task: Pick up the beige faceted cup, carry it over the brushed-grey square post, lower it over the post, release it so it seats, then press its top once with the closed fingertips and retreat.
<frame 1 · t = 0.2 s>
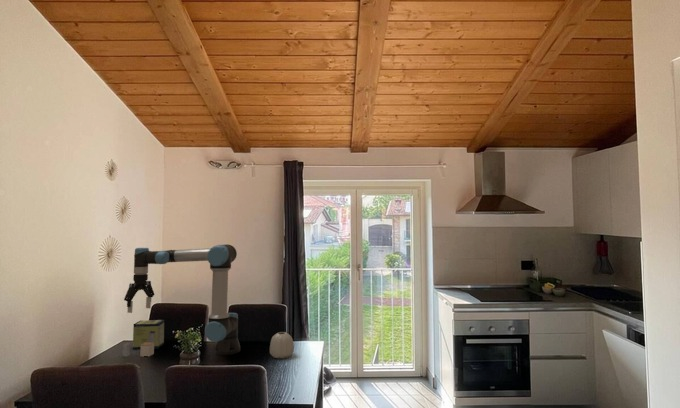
hand: (139, 310, 227), 26 cm above the table, fingers open, 13 cm apart
beige faceted cup: (147, 355, 228), on the table
protein box: (148, 347, 245), on the table
post: (126, 356, 226), on the table
vase: (281, 357, 224), on the table
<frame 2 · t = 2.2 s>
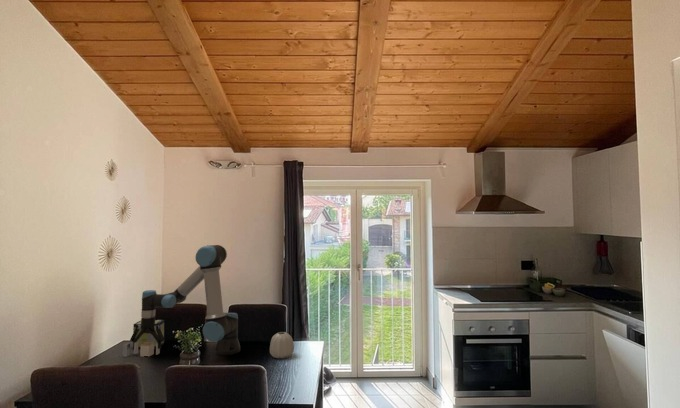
hand: (146, 353, 228), 1 cm above the table, fingers open, 13 cm apart
nothing on the table moved.
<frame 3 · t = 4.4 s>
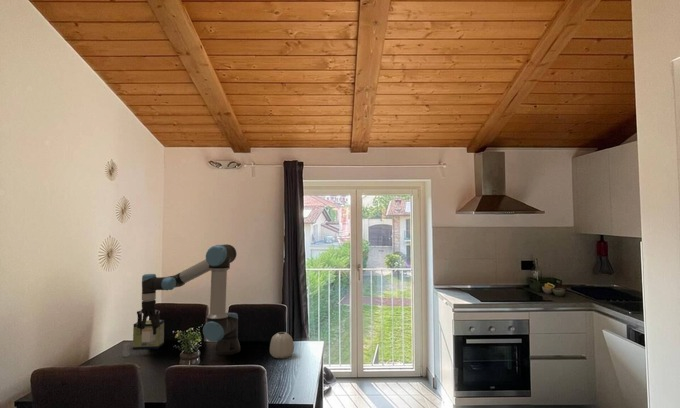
hand: (148, 340, 228), 9 cm above the table, fingers closed on beige faceted cup, 5 cm apart
beige faceted cup: (148, 340, 228), point 8 cm above the table, touching gripper
everything else where it was.
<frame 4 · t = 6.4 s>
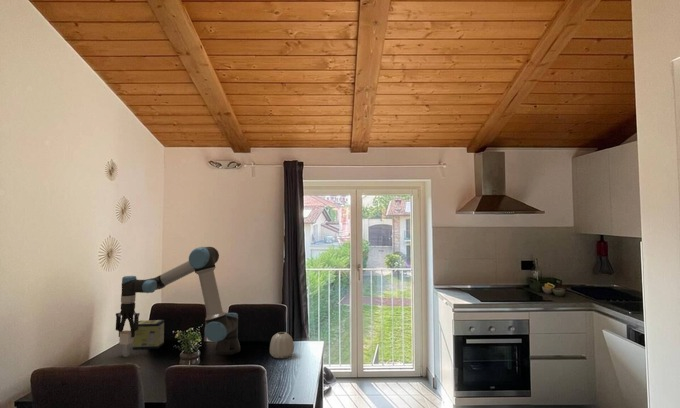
hand: (126, 342, 226), 8 cm above the table, fingers closed on beige faceted cup, 5 cm apart
beige faceted cup: (126, 343, 226), point 7 cm above the table, touching gripper
everything else where it was.
when the fingers open (2 cm above the table, at t = 8.4 s): beige faceted cup stays where it is, resting on post.
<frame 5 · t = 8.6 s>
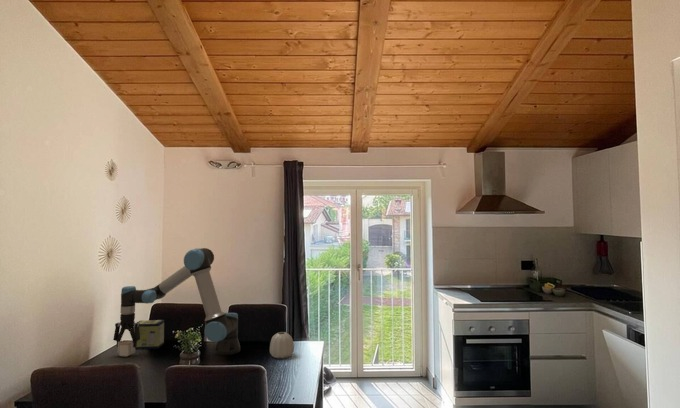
hand: (126, 352, 226), 2 cm above the table, fingers open, 8 cm apart
beige faceted cup: (126, 354, 226), point 1 cm above the table, touching post
everything else where it was.
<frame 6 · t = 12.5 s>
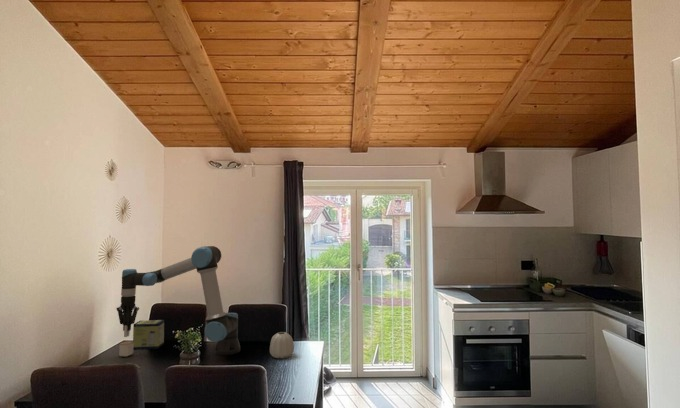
hand: (126, 336, 226), 11 cm above the table, fingers closed
nothing on the table moved.
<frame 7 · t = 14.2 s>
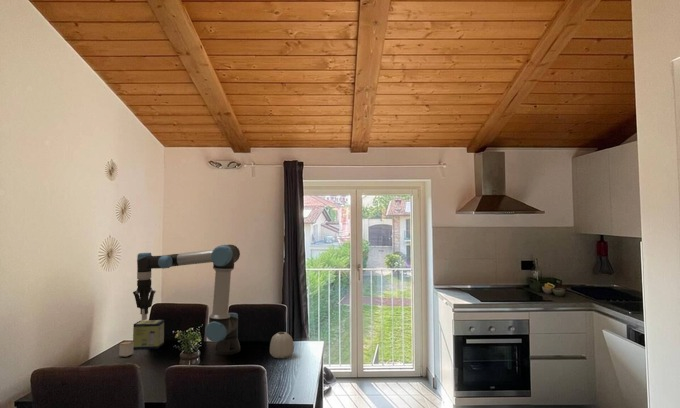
hand: (144, 319, 226), 21 cm above the table, fingers closed
nothing on the table moved.
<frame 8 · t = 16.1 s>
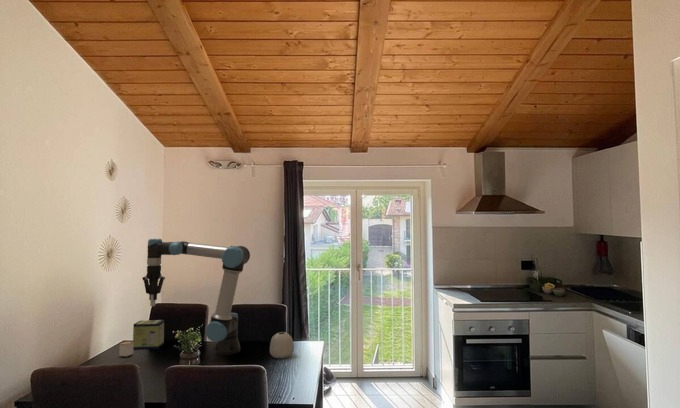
hand: (152, 305, 225), 29 cm above the table, fingers closed
nothing on the table moved.
at the end: beige faceted cup 0.0 cm from the post (horizontally); beige faceted cup point 1.0 cm above the table; the gripper is holding nothing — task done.
